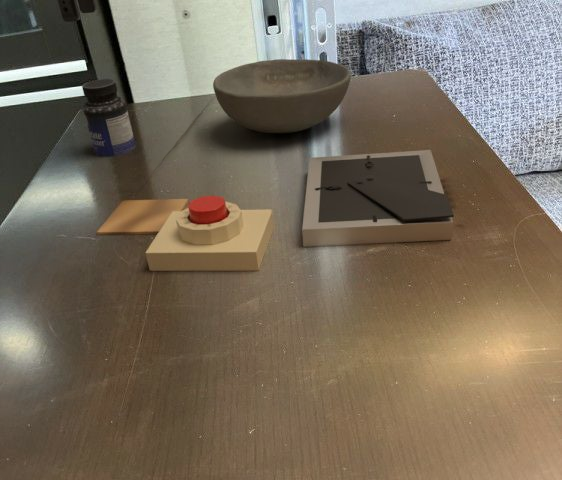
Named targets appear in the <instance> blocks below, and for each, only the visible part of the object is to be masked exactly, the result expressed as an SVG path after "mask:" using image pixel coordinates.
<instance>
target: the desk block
mask: <svg viewBox="0 0 562 480" xmlns="http://www.w3.org/2000/svg"><path fill="white" fill-rule="evenodd" d="M225 202H226V209H227V215H228V216H227V218H225V219H224V220H222V221H220V222H216V223H212V224H206V225H197V224H194V223H192V222H191V219H190V214H189V209H188V207H187V208H184V210H183V211H173V212H172V213H171V214H170V216H169V217H168V219H167V221H166V222H165V224H164V225H163V227H162V228H161V230H160V231H159V233H158V234H156V236H155V238H154V239H153V240H152V242H151V243H150V245H149V246H148V248H147V249H146V251H145V253H144V254H145V258H146V261H147V265H148V270H149V271H150V272H158V271H159V272H174V271H176V272H177V271H178V272H179V271H181V272H183V271H184V272H186V271H187V272H195V271H196V272H197V271H198V272H201V271H202V272H203V271H204V272H205V271H206V272H207V271H209V272H210V271H213V272H214V271H216V272H218V271H219V272H221V271H227V272H230V271H233V272H235V271H237V272H238V271H247V272H248V271H251V272H252V271H254V272H255V271H259V270H260V268H261V265H262V262H263V259H264V257H265V254H266V251H267V249H268V246H269V244H270V240H271V237H272V234H273V232H274V229H275V217H274V210H273V209H271V208H269V209H241V208H240V207H239V206H238V205H237V204H236V203H233V202H229V201H225Z"/></svg>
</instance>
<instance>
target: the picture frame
mask: <svg viewBox="0 0 562 480" xmlns="http://www.w3.org/2000/svg"><path fill="white" fill-rule="evenodd" d="M454 217H455V216H454V211H453V208H452V205H451V202H450V199H449V196H448V194H446V193H445V191H444V188H443V184H442V182H441V178H440V175H439V171H438V168H437V166H436V162H435V159H434V156H433V154H432V150H431V149H425V150H424V149H423V150H408V151H394V152H393V151H392V152H378V153H377V152H376V153H362V154H347V155H332V156H330V155H329V156H318V157H317V156H316V157H309V158H308V168H307V177H306V189H305V197H304V208H303V217H302V228H301V233H302V235H301V236H302V245H303V248H312V247H313V248H314V247H333V246H355V245H373V244H375V245H376V244H392V243H393V244H394V243H397V244H398V243H414V242H435V241H437V242H438V241H451V240H452V239H453V230H454V229H453V228H454V221H453V218H454Z"/></svg>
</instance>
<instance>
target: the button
mask: <svg viewBox="0 0 562 480" xmlns="http://www.w3.org/2000/svg"><path fill="white" fill-rule="evenodd" d="M226 202H227V201H226V200H225V198H223V197H221V196H219V195H205V196H199V197H197V198H195V199H193V200H191V201H190V202H188V204H187V208H188V209H189V214H190V219H191V222H192V223H194V224H197V225H206V224H212V223H216V222H220V221H222V220H224V219H225V218H227V216H228V215H227V209H226Z"/></svg>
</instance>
